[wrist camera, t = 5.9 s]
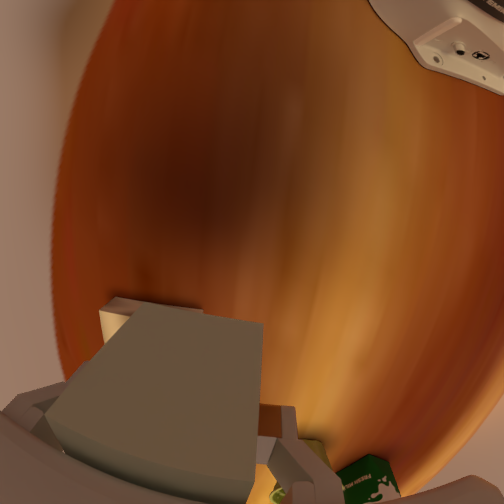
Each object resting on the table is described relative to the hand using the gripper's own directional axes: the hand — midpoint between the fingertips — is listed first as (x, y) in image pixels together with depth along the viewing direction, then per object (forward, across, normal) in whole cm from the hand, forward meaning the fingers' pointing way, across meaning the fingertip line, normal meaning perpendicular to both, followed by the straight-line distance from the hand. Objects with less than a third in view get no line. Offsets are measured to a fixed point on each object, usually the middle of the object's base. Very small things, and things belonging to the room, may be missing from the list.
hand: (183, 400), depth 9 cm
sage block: (+3, 0, 0) cm, 3 cm away
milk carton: (+17, -26, +34) cm, 46 cm away
